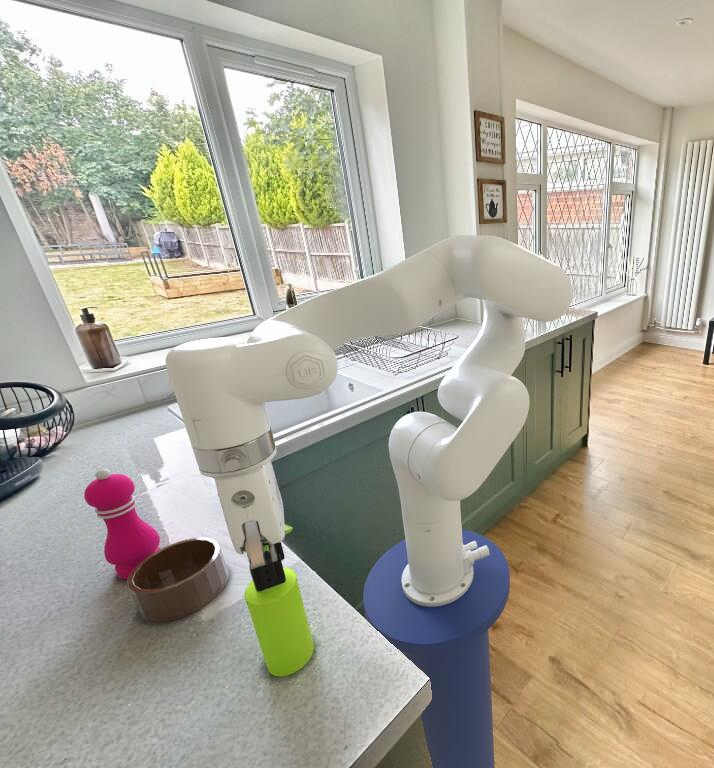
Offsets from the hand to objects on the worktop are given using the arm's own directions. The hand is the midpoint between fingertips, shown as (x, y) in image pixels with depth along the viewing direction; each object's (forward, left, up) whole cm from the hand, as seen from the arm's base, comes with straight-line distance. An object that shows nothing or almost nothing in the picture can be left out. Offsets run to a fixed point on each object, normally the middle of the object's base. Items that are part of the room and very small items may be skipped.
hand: (271, 572), depth 53 cm
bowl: (+15, -21, -15) cm, 30 cm away
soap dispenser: (0, 0, -15) cm, 15 cm away
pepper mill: (+23, -32, -15) cm, 42 cm away
